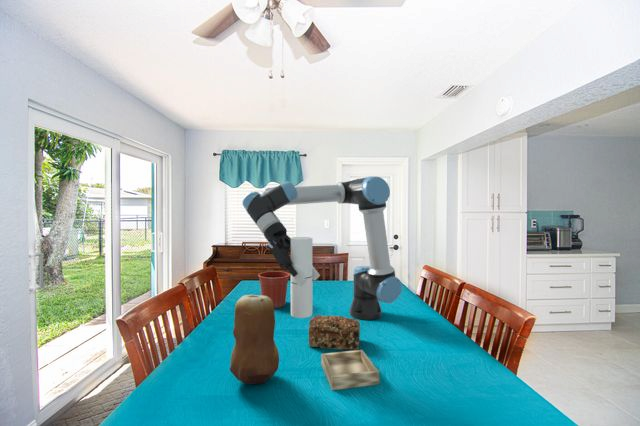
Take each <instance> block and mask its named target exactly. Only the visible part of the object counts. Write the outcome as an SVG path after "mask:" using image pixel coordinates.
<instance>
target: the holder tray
mask: <svg viewBox="0 0 640 426" xmlns="http://www.w3.org/2000/svg"><path fill="white" fill-rule="evenodd" d="M320 360H321V361H320V366H321V367H322V369H323V372H324V374H325V377H326V379H327V381H328V383H329V387H330V388H331V391H336V390H337V391H338V390H344V389H345V390H346V389H352V388H353V389H354V388H361V387H367V386H374V385H375V386H376V385H380V371H379V370H378V369H377V367H376V366H375V364H373V363H374V362H373V361H371V359H370V357H368V355H367V354H366V353H365V352H364V350H363V349H357V350H347V351H338V352H336V351H335V352H327V353H321V354H320Z"/></svg>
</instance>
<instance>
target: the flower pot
mask: <svg viewBox="0 0 640 426" xmlns="http://www.w3.org/2000/svg"><path fill="white" fill-rule="evenodd" d="M257 277H258V278H259V279H258V280H259V284H260V295H263V296H267V297H269V298H270V299H271V300H272V302H273V305H274V309H279V308H282V307H285V305H286V301H287V292H288V283H289V278H290V277H291V273H290V272H287V271H282V270H280V271H279V270H275V271H274V270H273V271H272V270H271V271H263V272H260V273H258V275H257Z"/></svg>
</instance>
